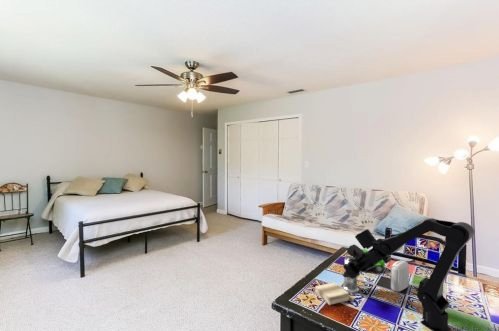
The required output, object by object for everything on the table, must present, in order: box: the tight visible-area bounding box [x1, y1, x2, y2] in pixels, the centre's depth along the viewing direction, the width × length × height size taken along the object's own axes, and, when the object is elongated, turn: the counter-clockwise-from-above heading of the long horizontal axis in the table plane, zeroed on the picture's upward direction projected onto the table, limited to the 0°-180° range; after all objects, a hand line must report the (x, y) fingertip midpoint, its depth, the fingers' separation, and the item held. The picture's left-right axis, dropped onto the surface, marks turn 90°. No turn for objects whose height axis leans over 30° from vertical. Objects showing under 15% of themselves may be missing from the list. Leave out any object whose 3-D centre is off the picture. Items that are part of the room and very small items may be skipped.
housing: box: [342, 255, 360, 294], centre depth 115 cm, size 7×7×14 cm
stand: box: [314, 281, 350, 306], centre depth 109 cm, size 10×10×3 cm
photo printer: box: [390, 260, 410, 292], centre depth 116 cm, size 10×4×12 cm, turn 123°
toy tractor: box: [361, 248, 386, 274], centre depth 136 cm, size 11×16×10 cm
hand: (347, 273), depth 116 cm, fingers open, 7 cm apart
